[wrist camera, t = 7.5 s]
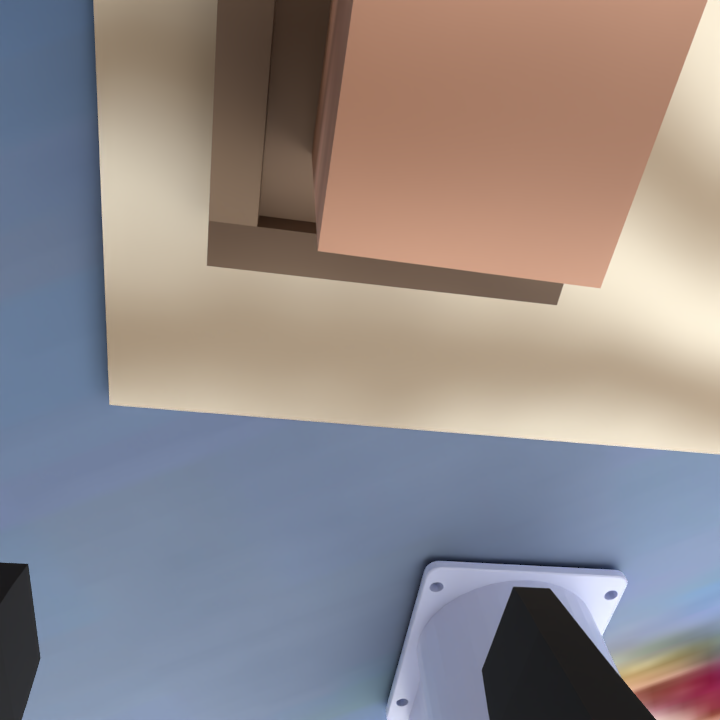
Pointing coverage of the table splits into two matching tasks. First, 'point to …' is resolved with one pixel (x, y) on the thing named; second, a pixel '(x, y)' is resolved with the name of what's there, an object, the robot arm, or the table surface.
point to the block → (492, 129)
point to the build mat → (376, 276)
